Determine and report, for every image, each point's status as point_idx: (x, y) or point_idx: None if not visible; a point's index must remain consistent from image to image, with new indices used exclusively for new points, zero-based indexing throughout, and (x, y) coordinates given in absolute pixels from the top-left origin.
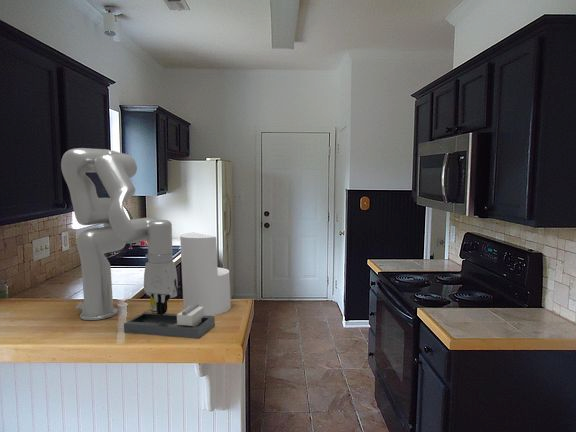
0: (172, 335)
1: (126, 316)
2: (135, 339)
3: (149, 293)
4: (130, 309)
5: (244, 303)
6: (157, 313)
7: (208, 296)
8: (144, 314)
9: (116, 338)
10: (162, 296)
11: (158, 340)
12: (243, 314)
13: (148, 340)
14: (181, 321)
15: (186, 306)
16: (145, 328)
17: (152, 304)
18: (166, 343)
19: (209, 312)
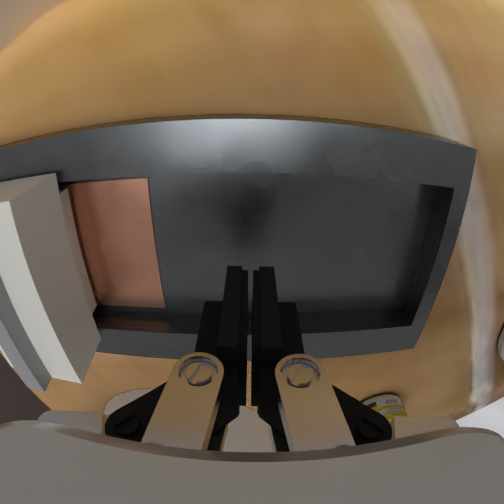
0: (101, 124)
1: (473, 328)
2: (323, 30)
3: (418, 434)
4: (463, 377)
5: None
6: (272, 268)
7: None
8: (408, 323)
9: (439, 51)
10: (194, 428)
11: (155, 42)
12: (41, 393)
13: (223, 25)
14: (14, 185)
15: (231, 429)
16: (312, 120)
17: (398, 414)
18: (86, 26)
19: (123, 403)
